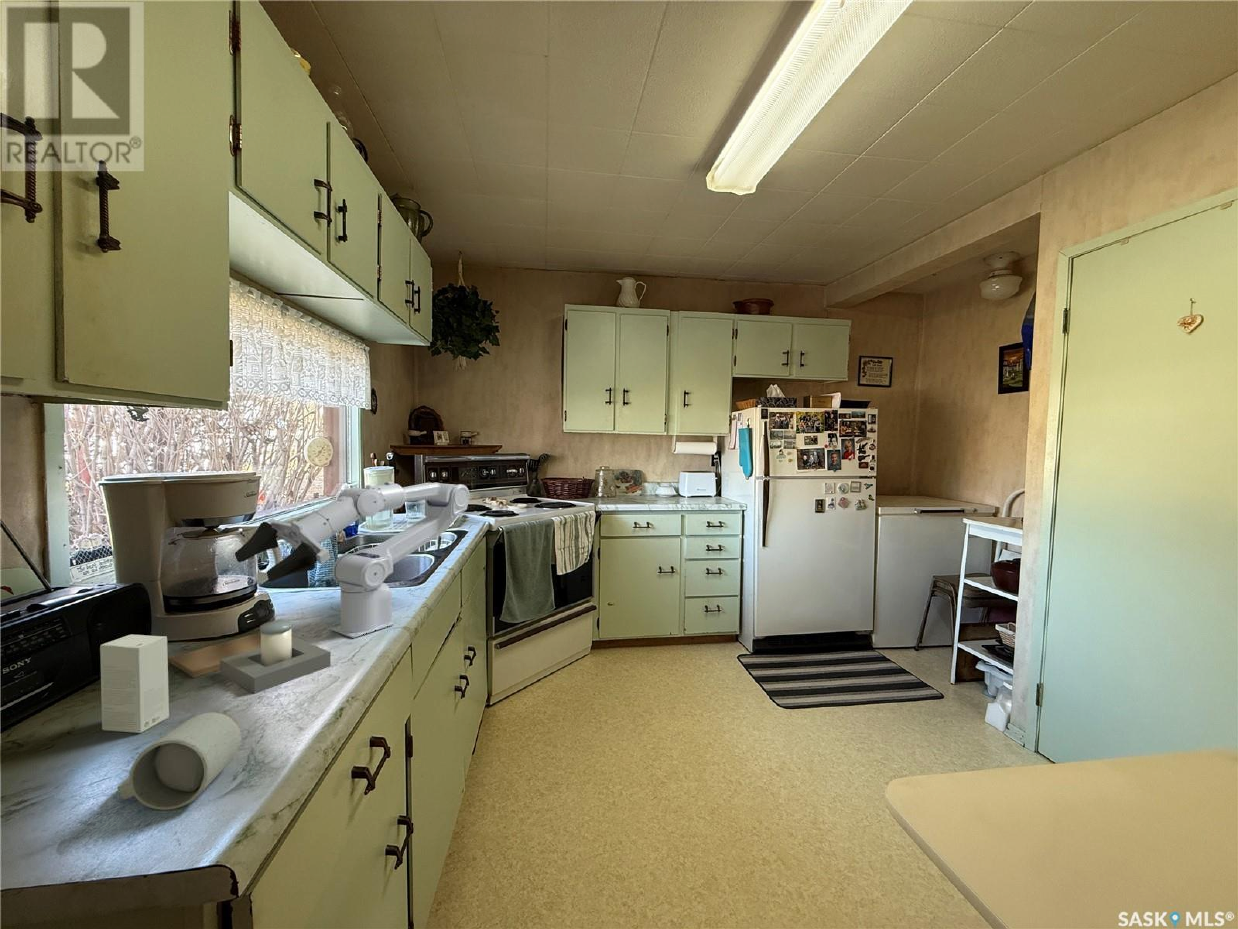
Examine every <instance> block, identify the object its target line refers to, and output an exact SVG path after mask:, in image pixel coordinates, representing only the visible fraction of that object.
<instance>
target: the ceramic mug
mask: <svg viewBox="0 0 1238 929" xmlns="http://www.w3.org/2000/svg"><path fill="white" fill-rule="evenodd" d="M242 739H243V738H242V730H241V727H240V726H239V723H238V722H237V721H236V720H235V719H234V718H233V717H232V716H230V715H228V714H226V713H223V712H217V711H210V712H205V713H200V714H198V715H196V716H193V717H191V718H190V719H188V720H186V721H184V722H183V723H181V724H180V725H179V726H177V727H176V728H174V729H173V730H171V731H170V732H168V733H167V734H166V735H164V736H162V737H161V738H160V739H158V740H156V741H155V742H153V743H152V744H151V745H149V746H147V747H146V748H145V749H144V750H143V751H142V752H140V754H139V755H138V756H137V757H136V758H135V759H134V762H133V763H132V766H131V768H130V771H129V776H128V777H127V778H125V780H123V781H122V782H121V783H120V784H118V786H117V790H118V793H119V795H120V797H121V798H122V799H123V800H128V799H131V798H134V797H135V798H136V800H138V801H139V802H140V804H142V805H144V806H146V807H148V808H150V809H154V810H157V811H170V810H177V809H179V808H182V807H184V806H186V805H188V804H190V803H192V802H193V801H195V800H196V798H197V797H199V796H200V795H201V794H202V792H203V791H204V790H205V789H206V788H207V787H208V786H210V784H211V783H212V782H213V781H214V780H215V779H216V778H217V777H218V775H220V773H222V771H223V770H224V769H225V768H226V767H227V766H228V765H229V764H230V763H231V762H232V761H233V759H234V758H235V756H236V754H237V753H238V751H239V749H240V747H241V744H242Z"/></svg>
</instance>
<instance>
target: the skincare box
mask: <svg viewBox="0 0 1238 929" xmlns="http://www.w3.org/2000/svg"><path fill="white" fill-rule="evenodd" d="M99 653H100V654H99V656H100V688H101V689H100V692H101V697H100V698H101V700H100V701H101V729H102V731H110V732H111V731H112V732H123V733H136V734H140V733H143V732H145V731H147V730H149V729H151V728H152V727H154V726H155V725H157V724H159V723H162V722H164V721H165V720H167V719H169V717H170V709H169V708H170V706H169V702H170V701H169V670H168V667H169V661H168V657H169V656H168V637H167V635H165V636H162V635H161V636H160V635H144V634H133V633H132V634H128V635H125V636H122V637H120V638H117V639H114V640H111V641H108V642H105V643H103V644H100V647H99Z"/></svg>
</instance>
